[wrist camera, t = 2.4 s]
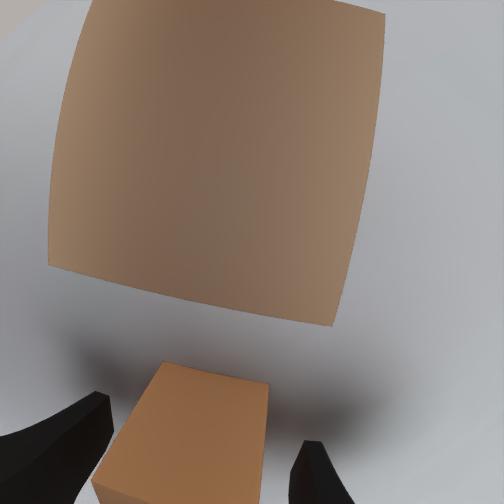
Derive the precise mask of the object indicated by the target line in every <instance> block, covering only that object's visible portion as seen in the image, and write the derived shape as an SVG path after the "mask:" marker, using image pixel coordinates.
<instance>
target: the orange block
mask: <svg viewBox="0 0 504 504" xmlns="http://www.w3.org/2000/svg"><path fill="white" fill-rule="evenodd" d="M268 394H269V384H268V383H262V382H257V381H251V380H245V379H240V378H235V377H230V376H225V375H220V374H215V373H211V372H206V371H202V370H197V369H193V368H189V367H185V366H181V365H177V364H173V363H169V362H165V361H163V362H162V364H161V365H160V367H159V369H158V370H157V372H156V373H155V375H154V377H153V378H152V380H151V381H150V383H149V385H148V386H147V388H146V390H145V391H144V393H143V394H142V396H141V398H140V399H139V401H138V403H137V404H136V406H135V407H134V409H133V411H132V412H131V414H130V416H129V417H128V419H127V421H126V422H125V424H124V425H123V427H122V429H121V430H120V432H119V434H118V435H117V437H116V439H115V440H114V442H113V444H112V445H111V447H110V449H109V450H108V452H107V454H106V455H105V457H104V459H103V460H102V462H101V464H100V465H99V467H98V469H97V470H96V472H95V474H94V475H93V477H92V479H91V482H92V485H93V487H94V490H95V493H96V495H97V497H98V500H99V502H100V504H259V499H260V488H261V478H262V467H263V456H264V444H265V432H266V420H267V407H268Z"/></svg>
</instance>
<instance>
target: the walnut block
mask: <svg viewBox="0 0 504 504" xmlns="http://www.w3.org/2000/svg"><path fill="white" fill-rule="evenodd" d="M384 34H385V14H383V13H380V12H377V11H373V10H370V9H366V8H363V7H359V6H355V5H351V4H347V3H343V2H338V1H334V0H93V1H92V3H91V6H90V9H89V11H88V14H87V17H86V19H85V22H84V25H83V28H82V31H81V34H80V37H79V40H78V43H77V47H76V50H75V53H74V57H73V60H72V64H71V68H70V72H69V76H68V80H67V84H66V88H65V92H64V97H63V102H62V106H61V112H60V117H59V122H58V128H57V134H56V141H55V148H54V156H53V164H52V174H51V185H50V198H49V219H48V265H51V266H54V267H58V268H61V269H65V270H68V271H72V272H76V273H79V274H83V275H87V276H90V277H94V278H98V279H102V280H105V281H109V282H113V283H117V284H121V285H125V286H129V287H133V288H137V289H141V290H146V291H150V292H154V293H158V294H163V295H167V296H171V297H176V298H180V299H185V300H190V301H194V302H199V303H204V304H208V305H213V306H218V307H223V308H228V309H233V310H238V311H243V312H249V313H254V314H259V315H265V316H270V317H276V318H282V319H288V320H293V321H299V322H305V323H312V324H318V325H324V326H331V327H332V326H333V323H334V319H335V316H336V312H337V309H338V305H339V301H340V298H341V294H342V290H343V286H344V283H345V279H346V275H347V271H348V267H349V263H350V259H351V254H352V250H353V246H354V241H355V237H356V232H357V228H358V223H359V219H360V214H361V209H362V204H363V199H364V194H365V188H366V183H367V177H368V172H369V166H370V160H371V154H372V147H373V141H374V134H375V127H376V119H377V111H378V103H379V94H380V85H381V75H382V63H383V50H384Z"/></svg>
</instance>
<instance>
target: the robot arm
mask: <svg viewBox="0 0 504 504" xmlns="http://www.w3.org/2000/svg"><path fill="white" fill-rule="evenodd" d="M113 433H114V426H113V420H112V413H111V405H110V397H109V396H108V395H105V394H103V393H100V392H97V391H94V392H93V393H91V394H89V395H88V396H86V397H84V398H83V399H81V400H79V401H78V402H76V403H74V404H73V405H71V406H69V407H67V408H66V409H64V410H62V411H60V412H58V413H57V414H55V415H53V416H51V417H49V418H47V419H45V420H43V421H41V422H39V423H37V424H35V425H33V426H30V427H28V428H25V429H23V430H20V431H17V432H14V433H11V434H8V435H4V436H0V504H74V502H75V500H76V497H77V496H78V494H79V492H80V490H81V489H82V487H83V485H84V484H85V482H86V481H87V479H88V478H89V476H90V475H91V473H92V471H93V470H94V468H95V467H96V465H97V464H98V462H99V460H100V459H101V457H102V456H103V454H104V452H105V451H106V449H107V446H108V444H109V442H110V440H111V438H112V435H113ZM288 496H289V504H355V503H354V501H353V500H352V498H351V497H350V495H349V494H348V492H347V490H346V489H345V487H344V485H343V484H342V482H341V480H340V478H339V477H338V475H337V473H336V471H335V469H334V467H333V465H332V463H331V461H330V459H329V457H328V454H327V452H326V450H325V448H324V445H323V444H322V442H319V441H307V440H304V442H303V445H302V447H301V449H300V452H299V454H298V456H297V458H296V461H295V463H294V465H293V467H292V469H291V472H290V482H289V494H288Z"/></svg>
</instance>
